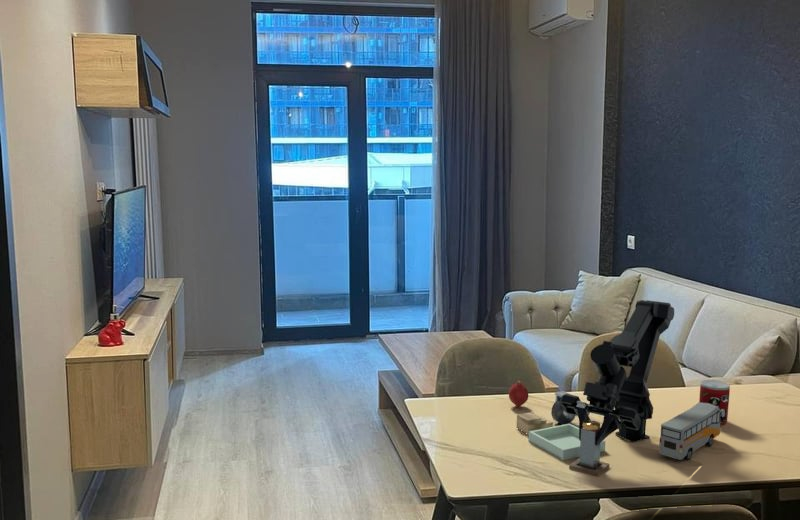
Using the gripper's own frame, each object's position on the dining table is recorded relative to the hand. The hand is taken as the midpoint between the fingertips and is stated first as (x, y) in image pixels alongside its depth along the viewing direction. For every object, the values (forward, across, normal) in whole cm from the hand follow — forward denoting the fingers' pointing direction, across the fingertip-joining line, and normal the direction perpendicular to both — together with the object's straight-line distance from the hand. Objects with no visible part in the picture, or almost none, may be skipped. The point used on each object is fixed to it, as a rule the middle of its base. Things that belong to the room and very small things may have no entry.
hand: (588, 442), depth 170 cm
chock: (-7, -23, +17) cm, 29 cm away
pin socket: (+4, 0, +6) cm, 7 cm away
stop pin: (+4, 0, +6) cm, 7 cm away
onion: (-16, -35, +27) cm, 47 cm away
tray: (-2, -10, +12) cm, 16 cm away
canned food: (-34, +13, +45) cm, 58 cm away
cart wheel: (-13, -18, +24) cm, 33 cm away
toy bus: (-16, +15, +26) cm, 34 cm away
